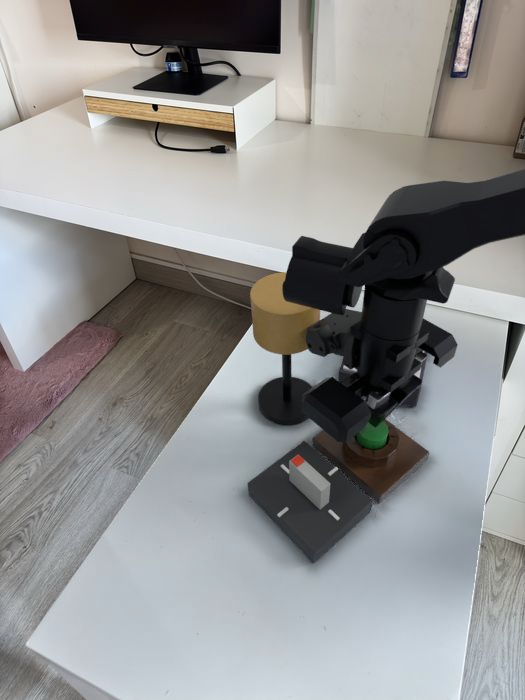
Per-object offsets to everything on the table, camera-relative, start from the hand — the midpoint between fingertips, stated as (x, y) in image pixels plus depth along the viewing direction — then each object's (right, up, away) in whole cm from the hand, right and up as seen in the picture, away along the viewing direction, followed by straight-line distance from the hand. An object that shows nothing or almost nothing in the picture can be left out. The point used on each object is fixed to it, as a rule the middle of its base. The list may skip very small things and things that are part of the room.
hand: (374, 423), depth 59 cm
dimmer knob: (-8, -7, -2) cm, 11 cm away
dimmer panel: (-8, -9, -1) cm, 12 cm away
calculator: (+5, +7, +16) cm, 18 cm away
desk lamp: (-10, +1, +11) cm, 14 cm away
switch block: (0, -4, +4) cm, 6 cm away
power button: (0, -2, +2) cm, 3 cm away
